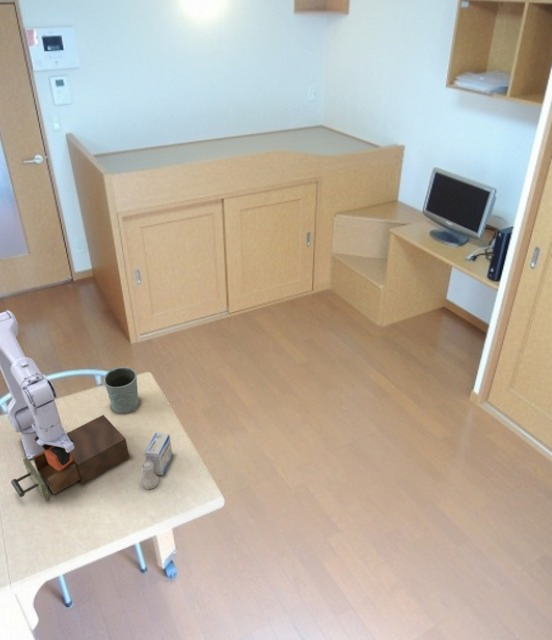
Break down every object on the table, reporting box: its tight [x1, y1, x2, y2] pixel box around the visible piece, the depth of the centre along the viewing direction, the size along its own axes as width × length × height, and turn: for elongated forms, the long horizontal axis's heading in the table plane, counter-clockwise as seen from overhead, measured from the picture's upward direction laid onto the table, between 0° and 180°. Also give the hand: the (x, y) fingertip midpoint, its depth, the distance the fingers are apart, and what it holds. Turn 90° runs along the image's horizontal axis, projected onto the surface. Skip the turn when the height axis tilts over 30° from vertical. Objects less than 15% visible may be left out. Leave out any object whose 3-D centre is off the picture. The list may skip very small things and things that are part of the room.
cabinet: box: [66, 414, 130, 485], centre depth 152 cm, size 14×13×8 cm
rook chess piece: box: [140, 459, 160, 490], centre depth 144 cm, size 4×4×8 cm
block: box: [44, 446, 73, 471], centre depth 140 cm, size 4×4×5 cm
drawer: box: [10, 451, 81, 502], centre depth 145 cm, size 18×12×6 cm, turn 133°
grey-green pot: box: [103, 366, 140, 415], centre depth 170 cm, size 10×10×12 cm
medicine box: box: [144, 432, 173, 476], centre depth 150 cm, size 8×4×9 cm, turn 168°
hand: (59, 458), depth 141 cm, fingers closed on block, 4 cm apart
